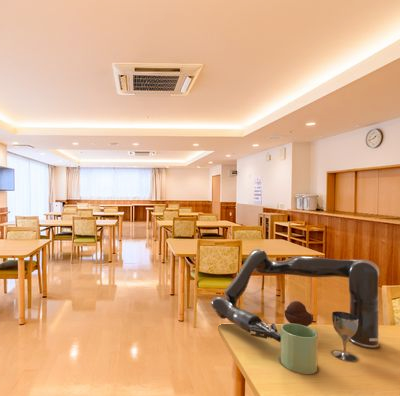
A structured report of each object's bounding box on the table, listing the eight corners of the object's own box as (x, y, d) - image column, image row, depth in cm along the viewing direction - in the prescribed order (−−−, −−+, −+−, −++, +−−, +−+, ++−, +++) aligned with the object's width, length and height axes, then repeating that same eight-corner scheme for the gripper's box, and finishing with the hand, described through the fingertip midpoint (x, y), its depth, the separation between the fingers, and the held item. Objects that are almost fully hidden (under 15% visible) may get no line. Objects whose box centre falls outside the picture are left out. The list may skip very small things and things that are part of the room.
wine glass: (335, 359, 105) (335, 318, 105) (329, 348, 112) (329, 310, 112) (361, 363, 102) (362, 321, 102) (353, 352, 109) (353, 313, 109)
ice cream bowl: (318, 343, 116) (318, 306, 116) (288, 340, 118) (288, 304, 118) (308, 331, 126) (308, 297, 126) (280, 329, 128) (280, 295, 128)
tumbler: (278, 353, 108) (278, 321, 108) (312, 358, 105) (312, 325, 105) (283, 370, 98) (283, 334, 98) (321, 376, 94) (321, 340, 94)
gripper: (258, 327, 124) (294, 346, 108) (234, 332, 119) (268, 353, 103) (258, 309, 124) (294, 326, 108) (234, 314, 119) (268, 332, 103)
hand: (281, 339), depth 106 cm, fingers closed
